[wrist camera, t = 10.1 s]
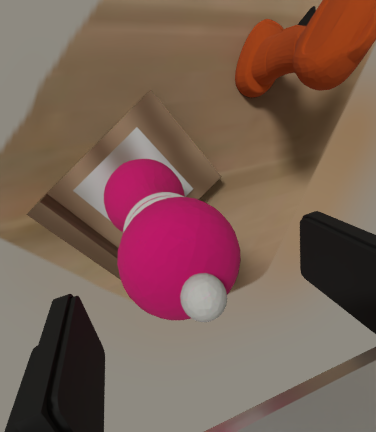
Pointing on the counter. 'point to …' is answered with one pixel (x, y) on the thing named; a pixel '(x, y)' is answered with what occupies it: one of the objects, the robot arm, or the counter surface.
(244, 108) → the counter surface
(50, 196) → the brown picture frame
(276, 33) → the toy drill
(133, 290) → the pepper mill
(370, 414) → the robot arm
